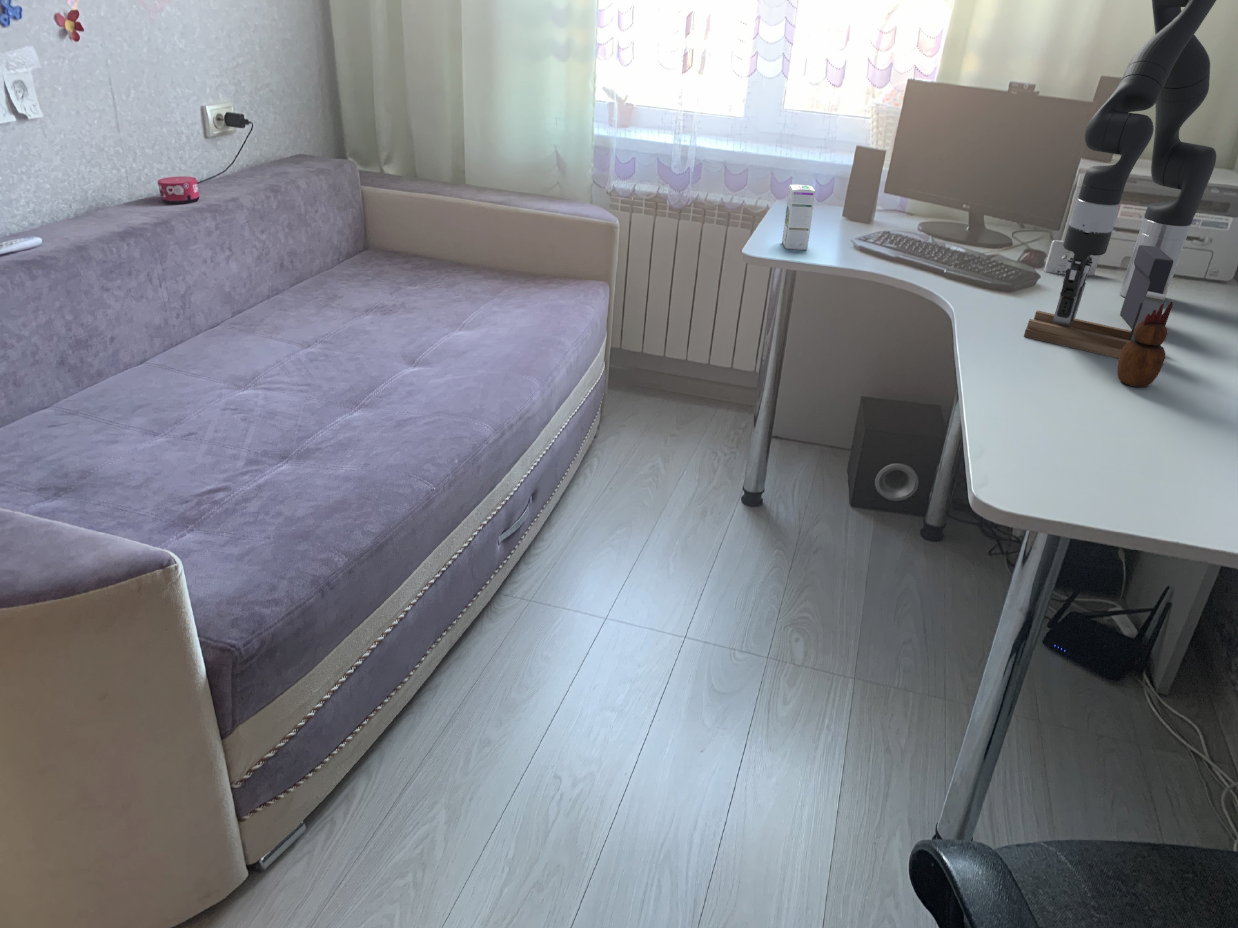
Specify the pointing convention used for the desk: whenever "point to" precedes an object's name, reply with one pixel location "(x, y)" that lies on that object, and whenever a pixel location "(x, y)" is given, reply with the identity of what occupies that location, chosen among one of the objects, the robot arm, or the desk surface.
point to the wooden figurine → (1144, 350)
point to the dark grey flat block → (1146, 279)
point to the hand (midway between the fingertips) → (1064, 313)
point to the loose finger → (1067, 321)
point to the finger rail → (1090, 330)
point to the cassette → (1063, 259)
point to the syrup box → (798, 217)
